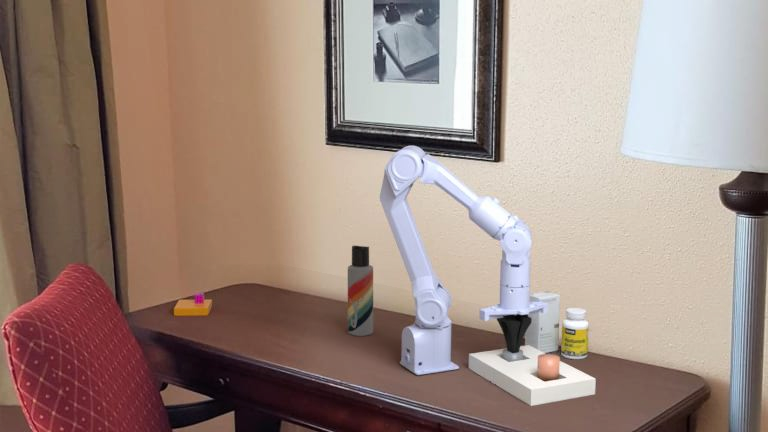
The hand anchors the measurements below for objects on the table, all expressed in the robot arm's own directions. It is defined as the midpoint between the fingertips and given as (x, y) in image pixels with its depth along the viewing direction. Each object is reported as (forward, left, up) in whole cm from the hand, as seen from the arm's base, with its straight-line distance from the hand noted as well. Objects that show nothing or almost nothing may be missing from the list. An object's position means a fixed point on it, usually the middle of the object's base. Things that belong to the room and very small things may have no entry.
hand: (513, 351), depth 182 cm
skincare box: (+13, +9, -4) cm, 16 cm away
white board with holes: (0, -6, -4) cm, 7 cm away
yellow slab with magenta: (-47, +69, -5) cm, 84 cm away
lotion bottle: (-17, +36, -4) cm, 40 cm away
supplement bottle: (+17, +3, -4) cm, 18 cm away
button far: (0, 0, -4) cm, 4 cm away
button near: (0, -12, -1) cm, 12 cm away
